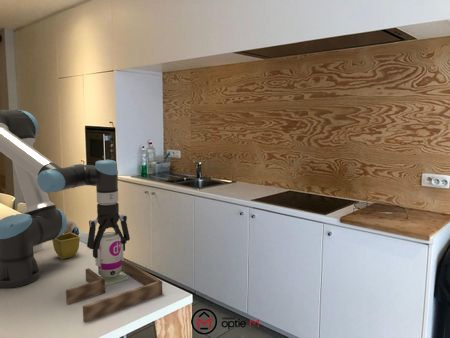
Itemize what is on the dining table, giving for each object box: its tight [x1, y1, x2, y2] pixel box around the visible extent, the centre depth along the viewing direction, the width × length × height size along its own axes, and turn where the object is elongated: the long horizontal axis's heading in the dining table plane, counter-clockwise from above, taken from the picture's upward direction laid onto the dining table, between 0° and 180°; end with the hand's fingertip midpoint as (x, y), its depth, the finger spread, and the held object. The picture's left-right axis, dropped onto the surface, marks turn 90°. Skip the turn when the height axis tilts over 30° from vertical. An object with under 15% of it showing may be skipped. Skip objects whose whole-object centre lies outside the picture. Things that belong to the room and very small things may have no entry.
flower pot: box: [51, 232, 81, 260], centre depth 159 cm, size 9×9×9 cm
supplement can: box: [97, 231, 123, 278], centre depth 136 cm, size 8×8×15 cm
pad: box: [99, 272, 130, 287], centre depth 137 cm, size 10×9×1 cm
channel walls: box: [65, 258, 163, 323], centre depth 126 cm, size 27×28×4 cm
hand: (109, 262), depth 136 cm, fingers closed on supplement can, 8 cm apart
